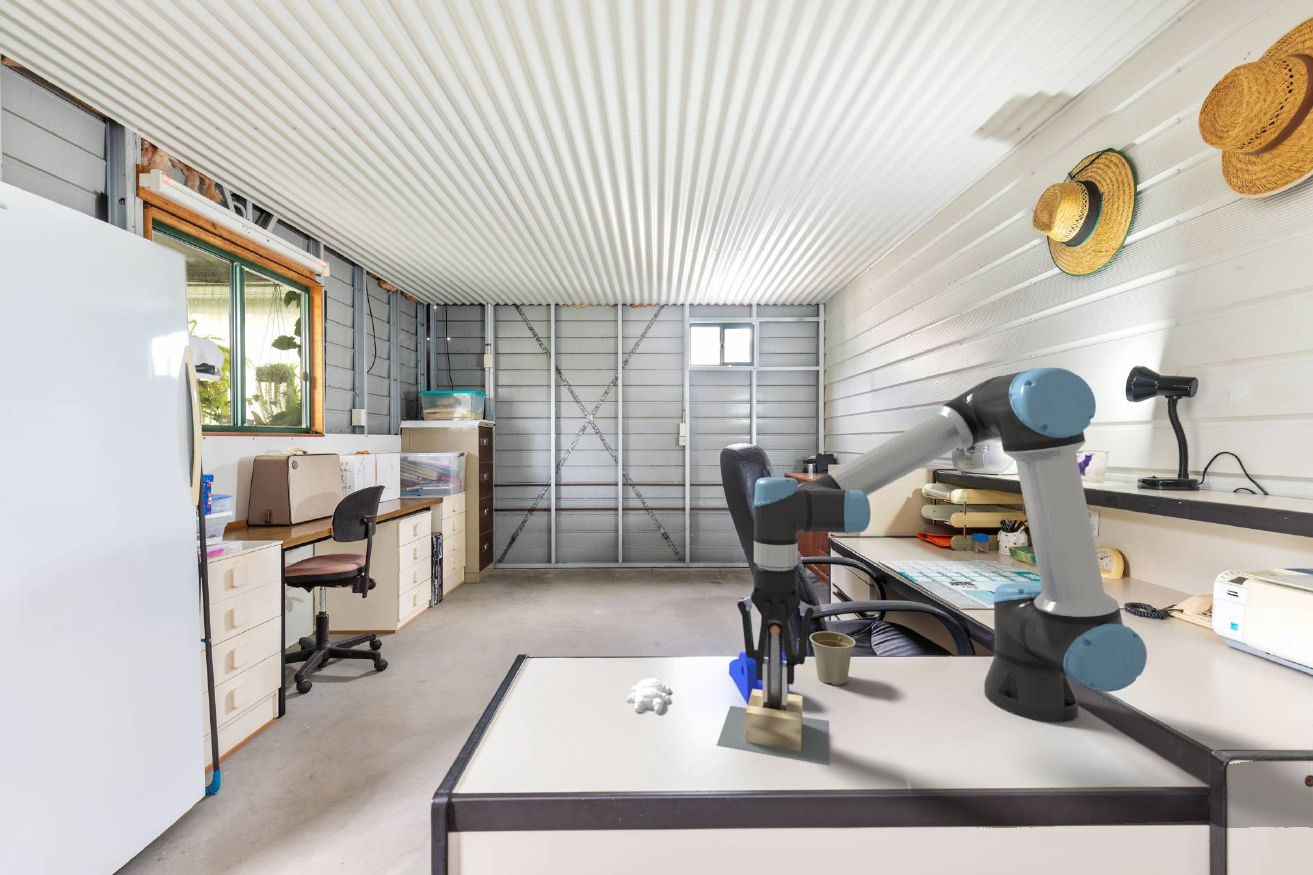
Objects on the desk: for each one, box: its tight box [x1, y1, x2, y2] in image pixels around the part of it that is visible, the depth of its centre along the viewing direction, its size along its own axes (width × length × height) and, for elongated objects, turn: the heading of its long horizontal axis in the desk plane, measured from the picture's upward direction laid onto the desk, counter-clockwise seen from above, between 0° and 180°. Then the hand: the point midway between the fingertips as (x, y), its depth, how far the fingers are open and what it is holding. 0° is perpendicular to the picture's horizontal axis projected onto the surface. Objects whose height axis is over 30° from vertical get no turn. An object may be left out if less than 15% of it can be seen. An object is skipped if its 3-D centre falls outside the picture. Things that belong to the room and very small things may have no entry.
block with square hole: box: [746, 689, 804, 751], centre depth 93 cm, size 9×9×5 cm
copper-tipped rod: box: [767, 620, 783, 710], centre depth 93 cm, size 3×3×17 cm
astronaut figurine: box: [626, 677, 672, 715], centre depth 106 cm, size 9×12×3 cm
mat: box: [716, 705, 831, 766], centre depth 93 cm, size 18×14×1 cm
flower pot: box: [809, 631, 856, 686], centre depth 115 cm, size 9×9×9 cm
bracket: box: [728, 651, 790, 706], centre depth 112 cm, size 18×8×9 cm, turn 6°
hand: (775, 699), depth 93 cm, fingers open, 3 cm apart
